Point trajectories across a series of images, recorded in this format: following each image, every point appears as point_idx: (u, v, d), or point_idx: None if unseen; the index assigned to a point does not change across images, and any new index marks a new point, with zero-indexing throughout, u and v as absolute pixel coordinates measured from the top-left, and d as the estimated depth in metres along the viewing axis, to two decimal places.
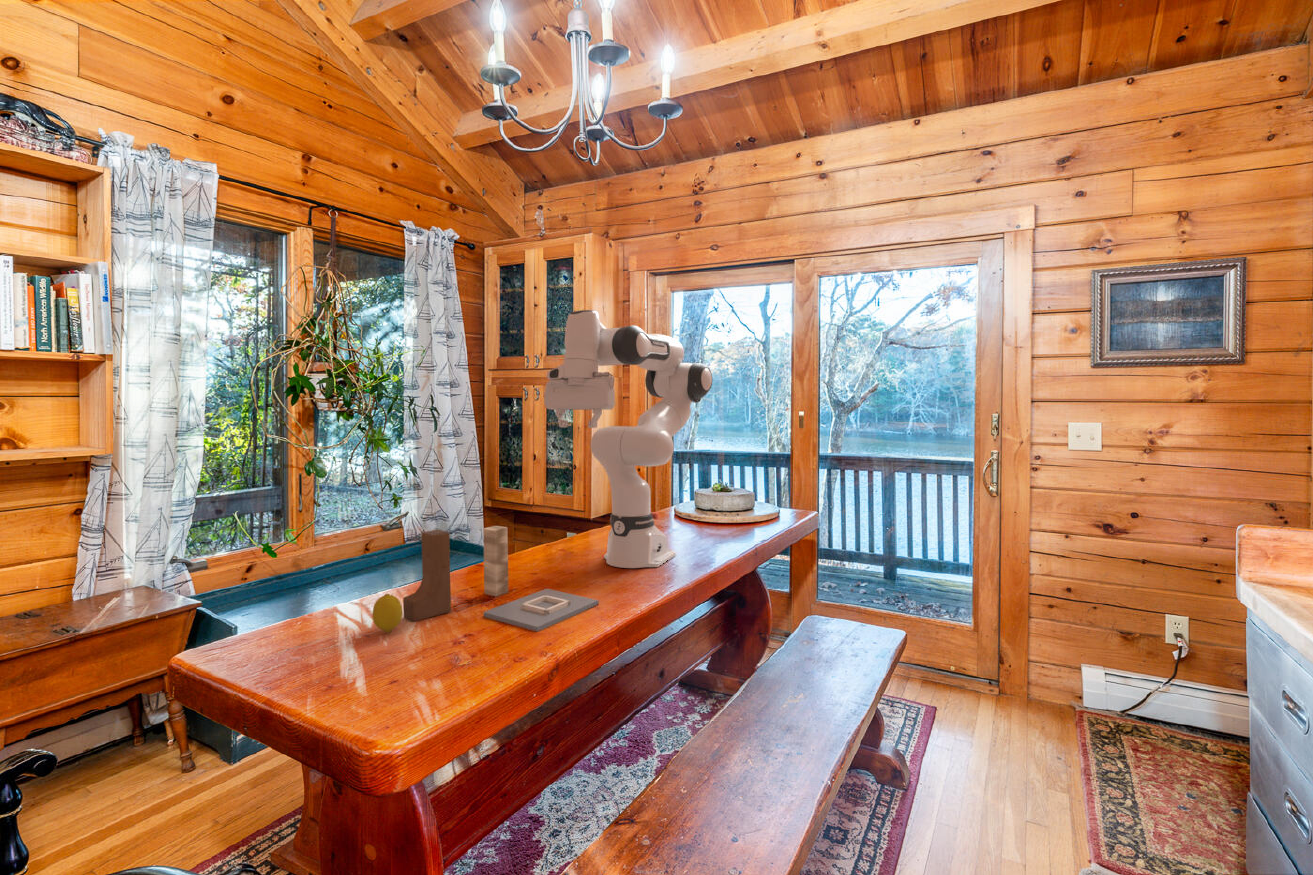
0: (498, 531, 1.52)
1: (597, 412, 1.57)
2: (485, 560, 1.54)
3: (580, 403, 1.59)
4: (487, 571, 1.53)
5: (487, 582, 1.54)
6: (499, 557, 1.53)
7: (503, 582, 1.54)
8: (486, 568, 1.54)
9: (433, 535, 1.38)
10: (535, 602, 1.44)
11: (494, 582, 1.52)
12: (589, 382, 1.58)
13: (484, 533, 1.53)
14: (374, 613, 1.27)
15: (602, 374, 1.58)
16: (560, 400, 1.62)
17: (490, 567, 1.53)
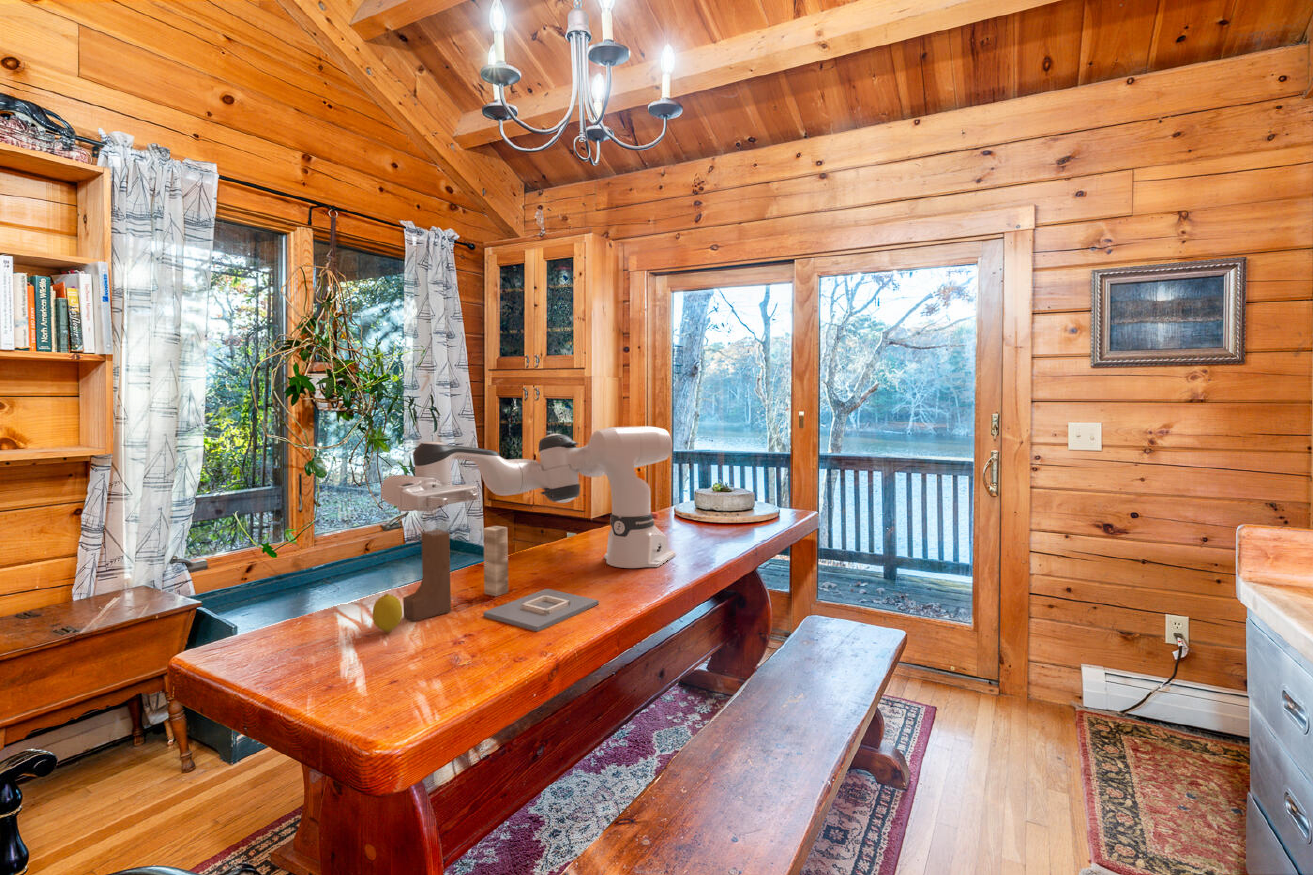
0: (498, 531, 1.52)
1: None
2: (485, 560, 1.54)
3: (451, 489, 1.65)
4: (487, 571, 1.53)
5: (487, 582, 1.54)
6: (499, 557, 1.53)
7: (503, 582, 1.54)
8: (486, 568, 1.54)
9: (433, 535, 1.38)
10: (535, 602, 1.44)
11: (494, 582, 1.52)
12: (446, 486, 1.70)
13: (484, 533, 1.53)
14: (374, 613, 1.27)
15: None
16: (427, 492, 1.60)
17: (490, 567, 1.53)
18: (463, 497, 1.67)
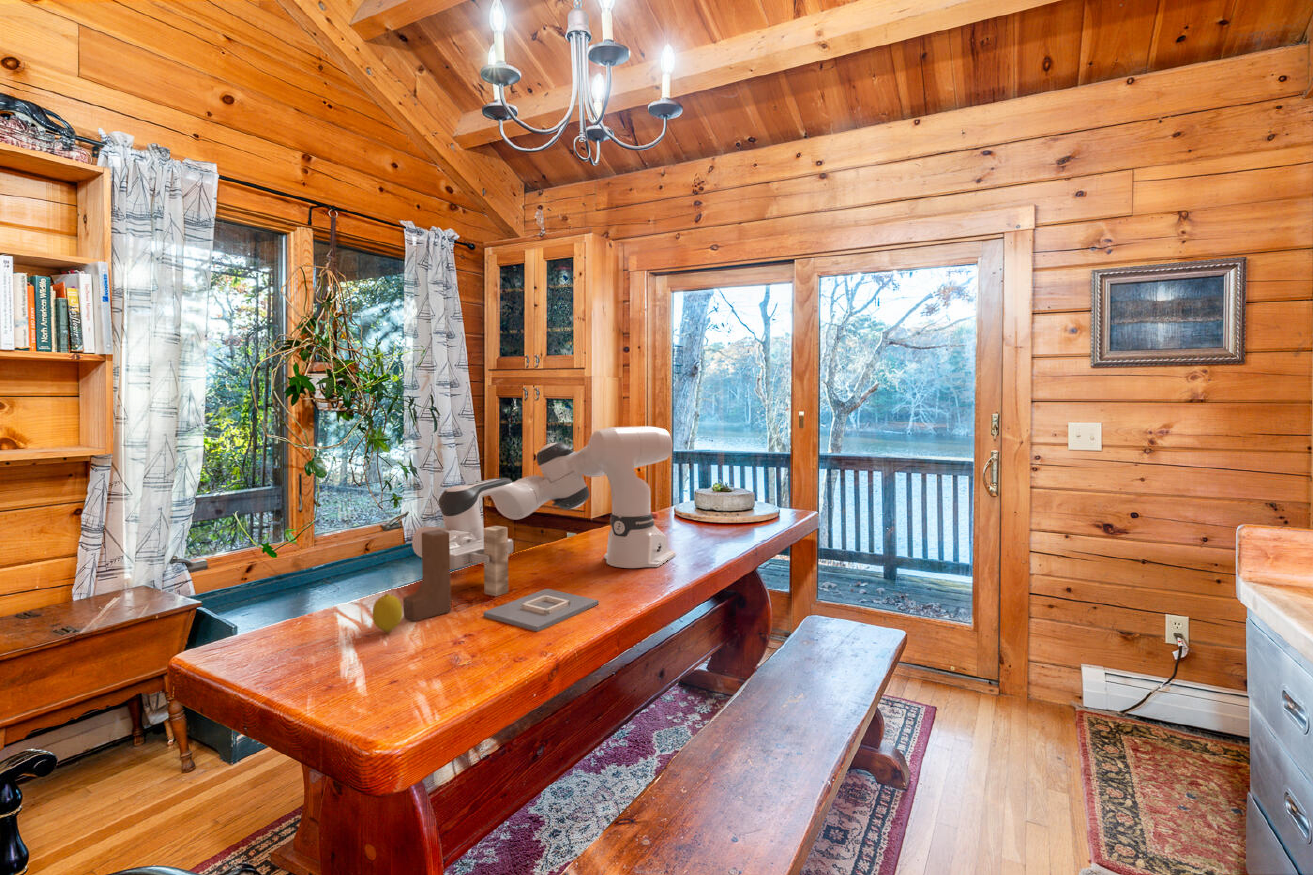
0: (498, 531, 1.52)
1: None
2: None
3: None
4: (487, 571, 1.53)
5: (487, 582, 1.54)
6: (499, 557, 1.53)
7: (503, 582, 1.54)
8: (486, 568, 1.54)
9: (433, 535, 1.38)
10: (535, 602, 1.44)
11: (494, 582, 1.52)
12: (480, 540, 1.63)
13: (484, 533, 1.53)
14: (374, 613, 1.27)
15: None
16: (463, 549, 1.54)
17: (490, 567, 1.53)
18: None
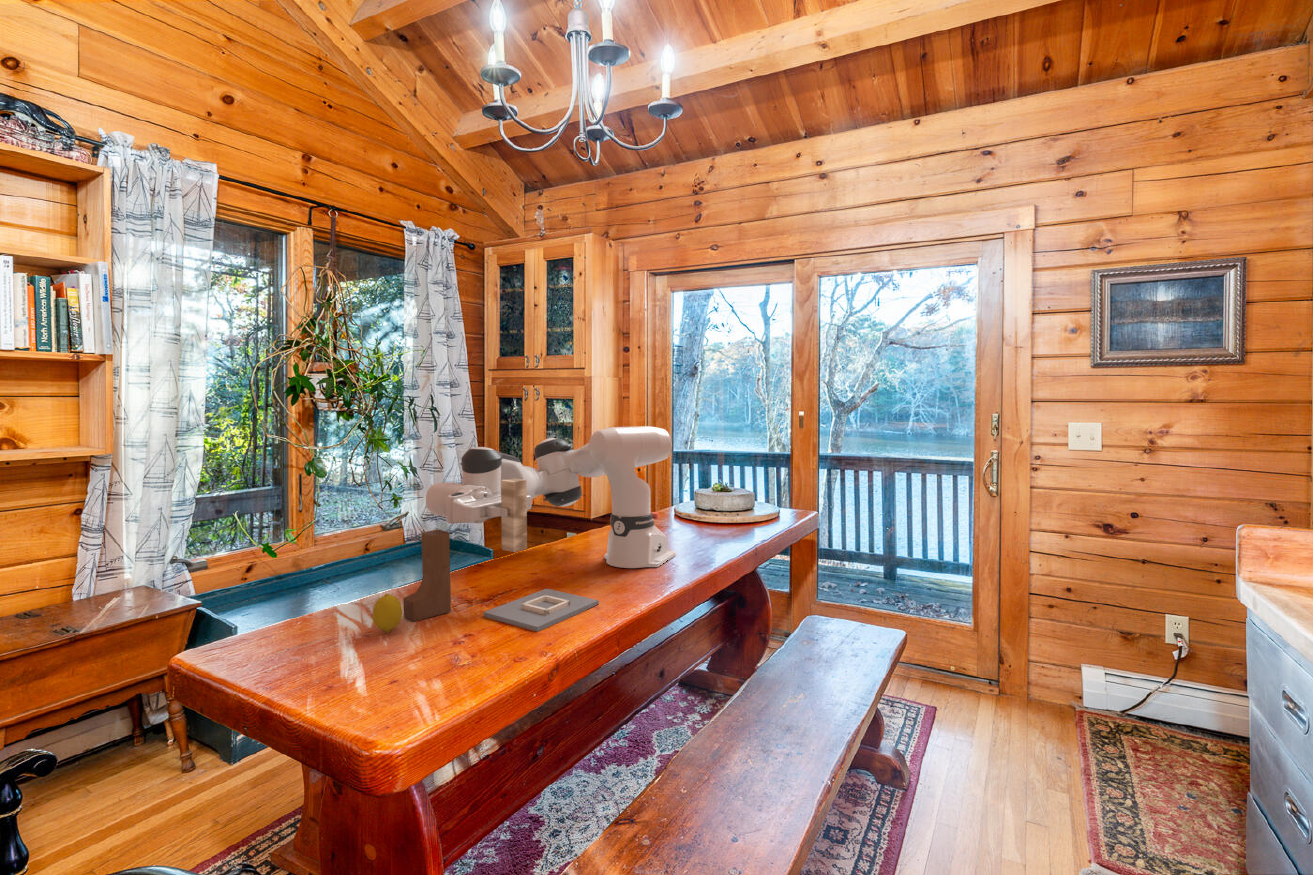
0: (516, 483, 1.44)
1: None
2: None
3: None
4: (505, 526, 1.45)
5: (505, 537, 1.46)
6: (517, 511, 1.44)
7: (521, 538, 1.46)
8: (503, 522, 1.45)
9: (433, 535, 1.38)
10: (535, 602, 1.44)
11: (512, 537, 1.44)
12: (497, 495, 1.55)
13: (502, 485, 1.45)
14: (374, 613, 1.27)
15: None
16: (480, 502, 1.45)
17: (508, 521, 1.45)
18: None
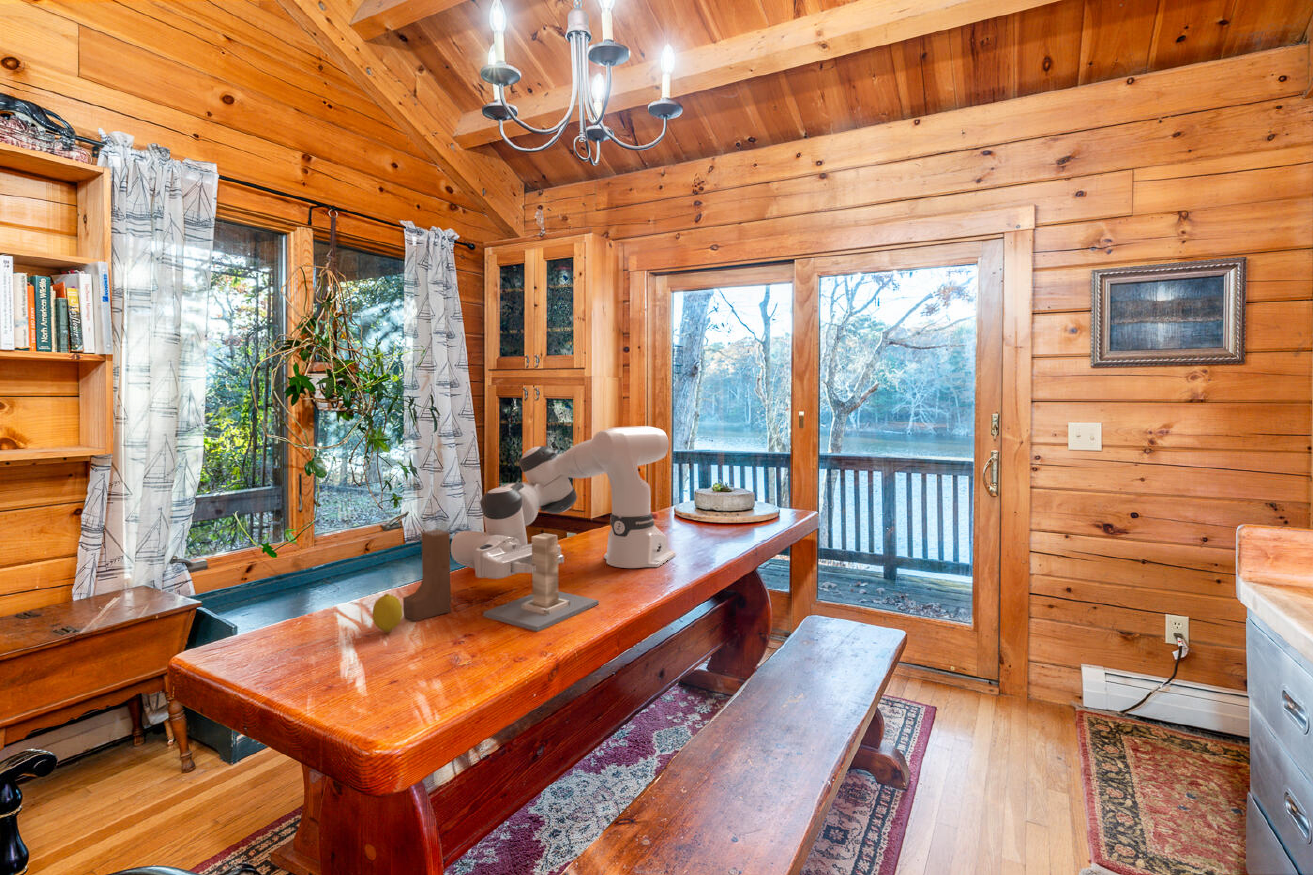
0: (548, 540, 1.39)
1: None
2: None
3: None
4: (536, 583, 1.41)
5: (536, 595, 1.41)
6: (549, 568, 1.40)
7: (553, 595, 1.41)
8: (535, 580, 1.41)
9: (433, 535, 1.38)
10: None
11: (544, 595, 1.39)
12: (525, 545, 1.50)
13: (532, 542, 1.40)
14: (374, 613, 1.27)
15: None
16: (510, 556, 1.41)
17: (540, 579, 1.40)
18: None
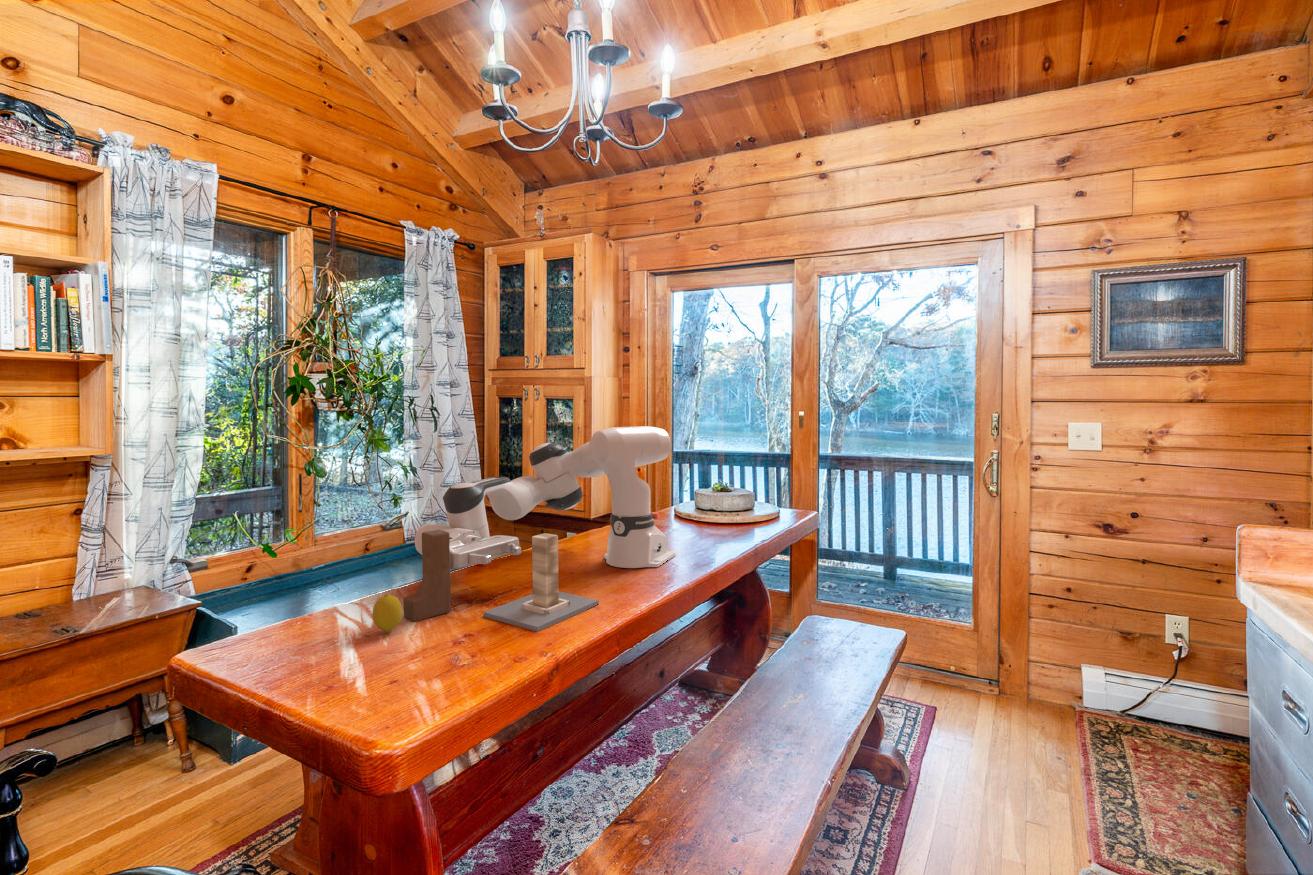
0: (548, 540, 1.39)
1: None
2: (534, 571, 1.41)
3: (492, 543, 1.53)
4: (536, 583, 1.41)
5: (536, 595, 1.41)
6: (549, 568, 1.40)
7: (553, 595, 1.41)
8: (535, 580, 1.41)
9: (433, 535, 1.38)
10: None
11: (544, 595, 1.39)
12: (485, 538, 1.58)
13: (533, 541, 1.40)
14: (374, 613, 1.27)
15: None
16: (468, 548, 1.48)
17: (540, 578, 1.40)
18: (504, 551, 1.55)
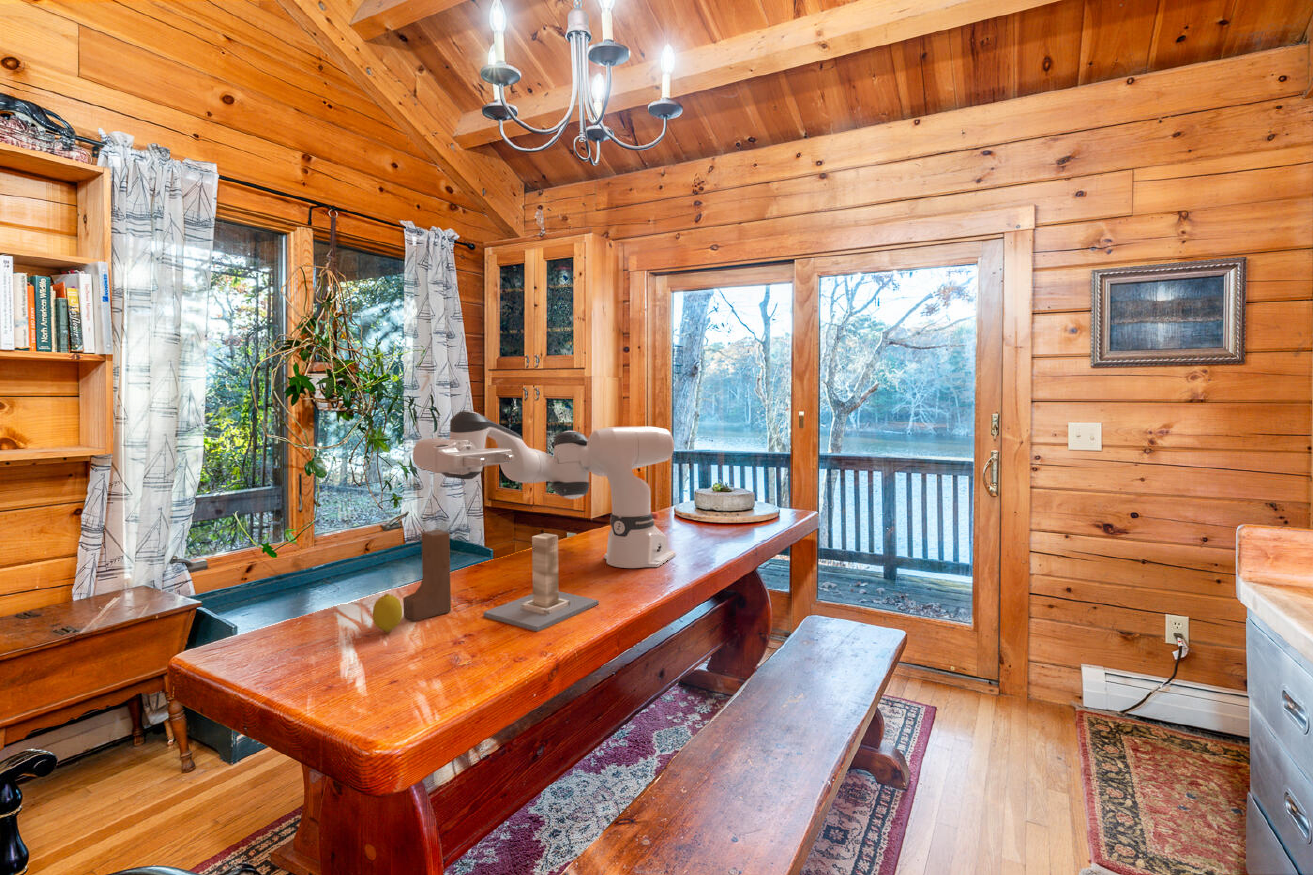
0: (548, 540, 1.39)
1: None
2: (534, 571, 1.41)
3: (486, 451, 1.61)
4: (536, 583, 1.41)
5: (536, 595, 1.41)
6: (549, 568, 1.40)
7: (553, 595, 1.41)
8: (535, 580, 1.41)
9: (433, 535, 1.38)
10: None
11: (544, 595, 1.39)
12: (480, 449, 1.66)
13: (533, 541, 1.40)
14: (374, 613, 1.27)
15: None
16: None
17: (540, 578, 1.40)
18: (498, 460, 1.63)
